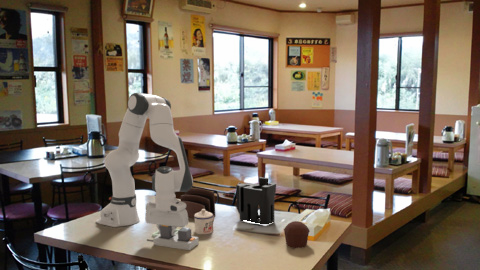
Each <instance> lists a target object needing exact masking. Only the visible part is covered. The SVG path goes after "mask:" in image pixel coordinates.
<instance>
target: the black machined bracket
mask: <svg viewBox="0 0 480 270" xmlns="http://www.w3.org/2000/svg"><path fill="white" fill-rule="evenodd" d="M235 191H236V192H235V193H236V194H235V196H236V198H235V199H236V210H237V212H238V214H239V221H240V222H241V221H243V220H247V221H251V222H255V223H260V224H269V223H272V222H274V223H275V196H276V192H277V182H270V183H269V178H268V177H262V176H259V177H258V183H248V182H247V183H238V184H236V185H235ZM258 218H260V220H259V219H258ZM250 219H251V220H250Z"/></svg>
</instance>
